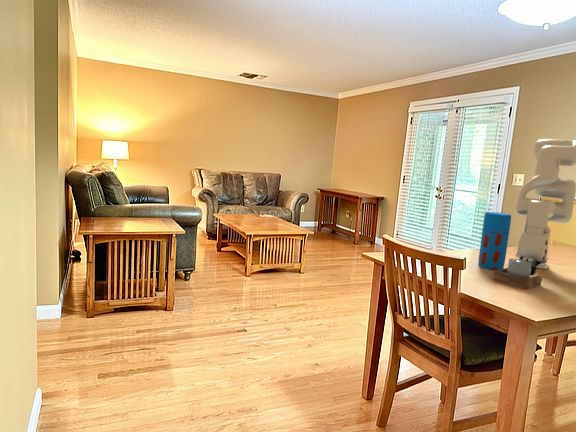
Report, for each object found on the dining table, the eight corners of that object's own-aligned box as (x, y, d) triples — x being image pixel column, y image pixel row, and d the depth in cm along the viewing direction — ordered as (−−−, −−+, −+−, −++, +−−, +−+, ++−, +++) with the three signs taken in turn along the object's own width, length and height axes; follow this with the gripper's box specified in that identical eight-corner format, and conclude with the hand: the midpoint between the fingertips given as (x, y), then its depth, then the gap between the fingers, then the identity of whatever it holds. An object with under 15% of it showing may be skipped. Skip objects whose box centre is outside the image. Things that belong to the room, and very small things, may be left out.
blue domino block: (506, 271, 183) (515, 216, 179) (481, 268, 185) (488, 213, 181) (499, 265, 193) (507, 213, 190) (475, 263, 195) (482, 211, 192)
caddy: (507, 276, 174) (509, 267, 173) (540, 285, 163) (542, 275, 163) (492, 280, 167) (494, 270, 166) (526, 289, 156) (527, 279, 156)
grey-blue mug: (518, 277, 174) (521, 256, 173) (538, 282, 168) (542, 261, 166) (502, 281, 166) (505, 259, 165) (522, 286, 160) (525, 264, 158)
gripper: (560, 234, 163) (553, 278, 166) (520, 227, 176) (513, 268, 178) (552, 235, 159) (544, 280, 161) (511, 227, 172) (504, 270, 174)
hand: (528, 274), depth 170 cm, fingers closed on grey-blue mug
